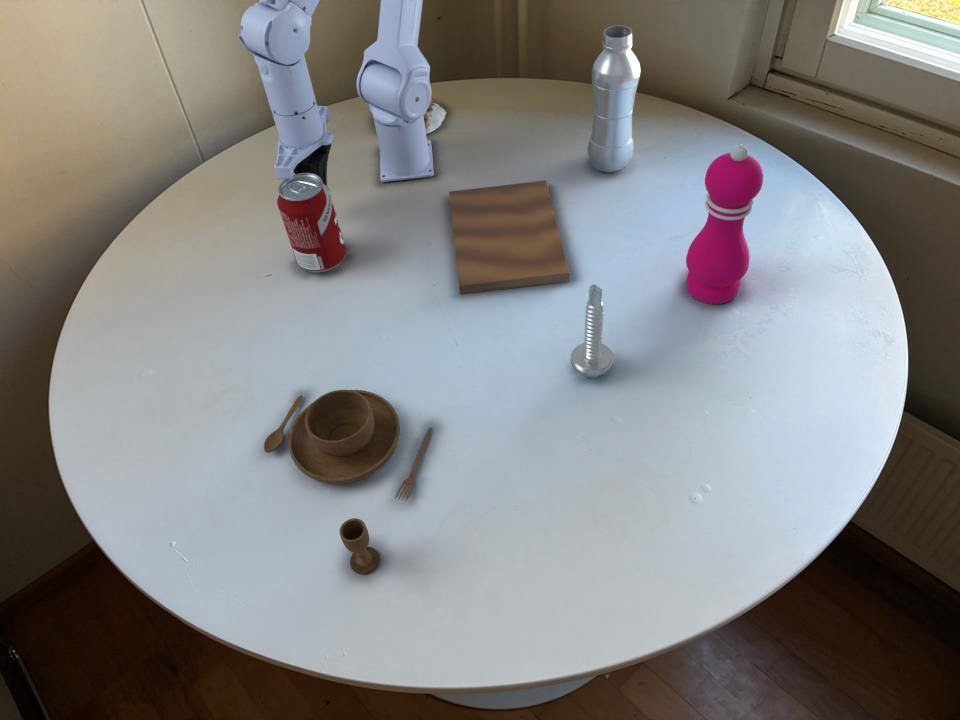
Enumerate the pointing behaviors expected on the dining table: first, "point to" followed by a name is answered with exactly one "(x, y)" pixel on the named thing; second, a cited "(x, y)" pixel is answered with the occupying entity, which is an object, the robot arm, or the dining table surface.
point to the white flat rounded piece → (433, 117)
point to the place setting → (346, 451)
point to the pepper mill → (724, 228)
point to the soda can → (311, 222)
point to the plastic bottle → (613, 101)
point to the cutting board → (506, 238)
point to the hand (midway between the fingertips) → (318, 193)
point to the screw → (593, 340)
